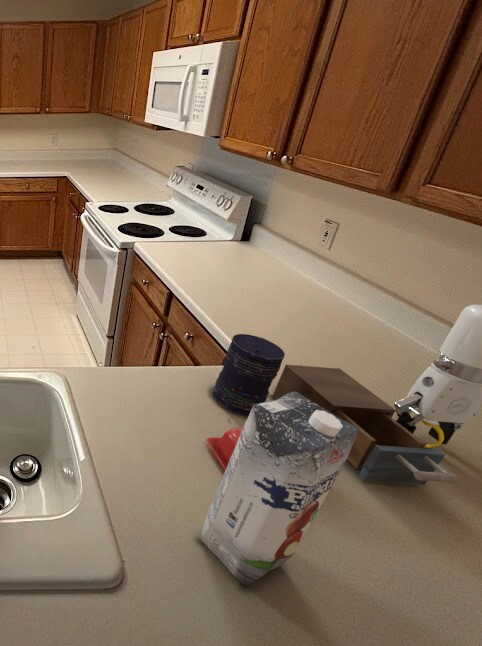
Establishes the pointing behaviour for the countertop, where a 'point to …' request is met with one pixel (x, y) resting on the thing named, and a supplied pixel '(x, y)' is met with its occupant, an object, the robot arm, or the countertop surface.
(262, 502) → the juice carton
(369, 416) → the drawer
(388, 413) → the cabinet
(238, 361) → the storage jar
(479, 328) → the robot arm
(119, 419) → the countertop surface
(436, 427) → the watch
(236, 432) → the butter dish
